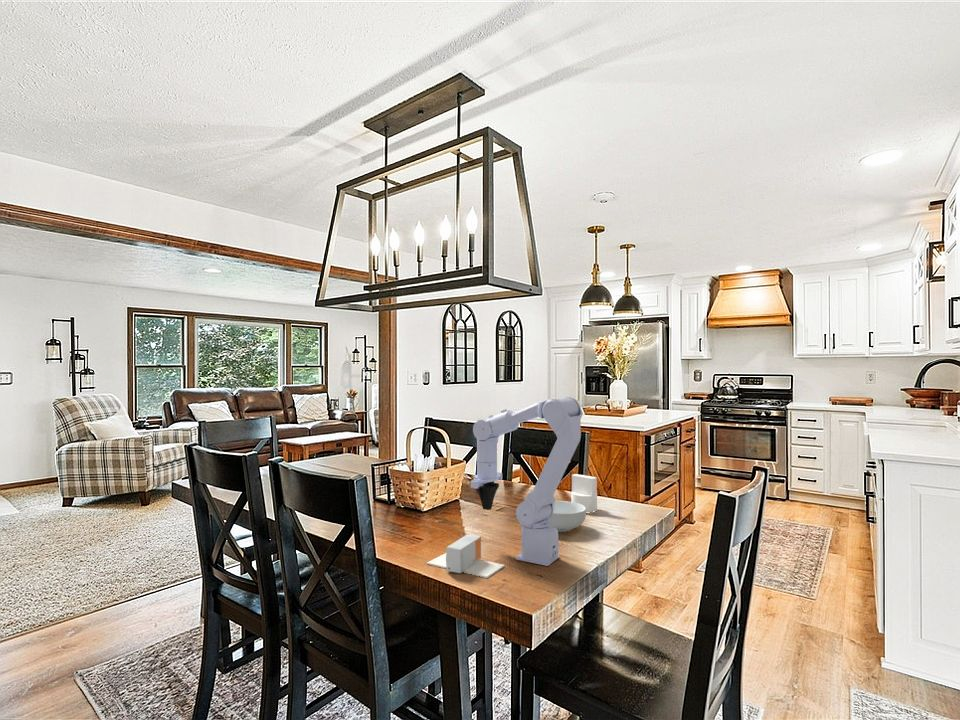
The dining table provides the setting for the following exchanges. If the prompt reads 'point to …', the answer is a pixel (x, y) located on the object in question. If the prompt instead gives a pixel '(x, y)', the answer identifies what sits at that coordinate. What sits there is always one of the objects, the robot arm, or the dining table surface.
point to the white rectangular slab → (477, 568)
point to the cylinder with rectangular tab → (584, 491)
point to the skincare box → (463, 553)
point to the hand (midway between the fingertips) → (487, 509)
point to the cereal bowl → (567, 515)
